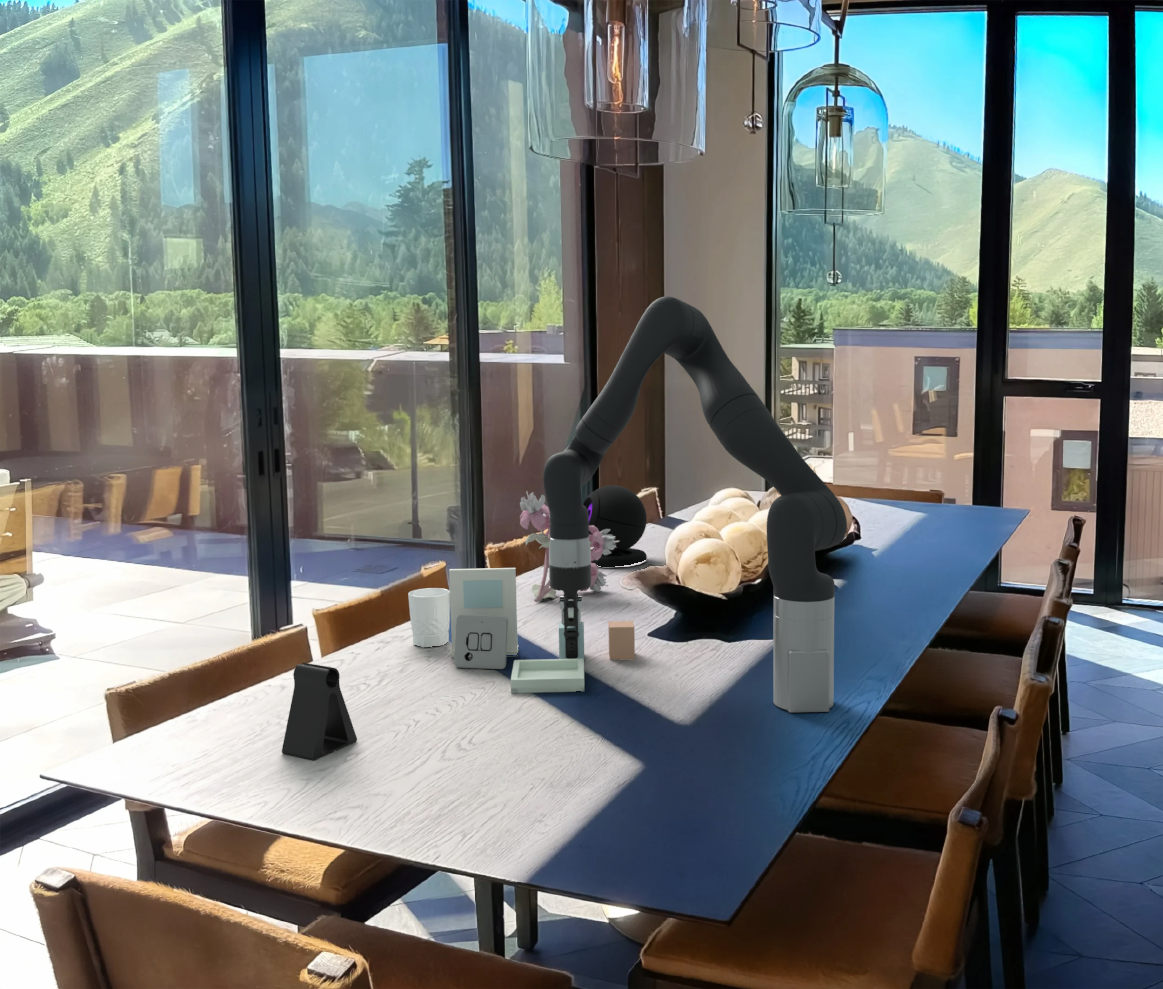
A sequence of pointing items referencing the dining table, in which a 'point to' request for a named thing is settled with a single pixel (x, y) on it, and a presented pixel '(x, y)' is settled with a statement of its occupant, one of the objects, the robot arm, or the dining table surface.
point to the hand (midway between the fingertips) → (571, 654)
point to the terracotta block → (621, 640)
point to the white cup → (430, 616)
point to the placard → (485, 598)
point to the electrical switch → (481, 641)
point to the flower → (542, 522)
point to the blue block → (562, 640)
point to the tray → (547, 675)
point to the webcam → (618, 523)
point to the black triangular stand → (317, 714)
